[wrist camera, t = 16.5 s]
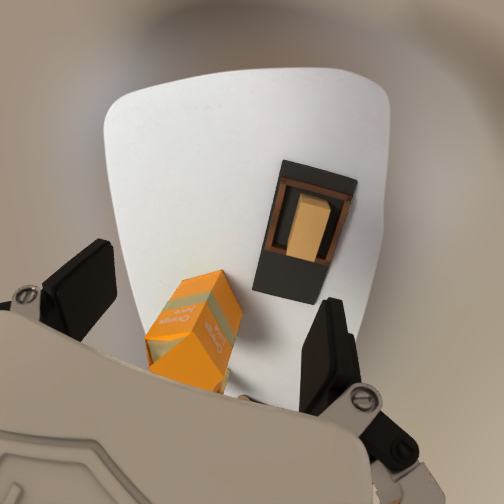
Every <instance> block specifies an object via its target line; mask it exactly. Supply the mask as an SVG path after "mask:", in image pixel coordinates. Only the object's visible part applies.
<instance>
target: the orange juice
mask: <svg viewBox="0 0 504 504" xmlns="http://www.w3.org/2000/svg"><path fill="white" fill-rule="evenodd" d="M242 315H243V312H242V310H241V308H240V306H239V304H238V302H237V300H236V298H235V295H234V293H233V291H232V289H231V287H230V285H229V283H228V281H227V279H226V277H225V275H224V273H223V271H222V270H219V271H215V272H212V273H208V274H205V275H201V276H197V277H194V278H190V279H186V280H183V281H182V282H181V284H180V285H179V287H178V288H177V289H176V291H175V292H174V294H173V295H172V297H171V298H170V300H169V301H168V302H167V304H166V305H165V307H164V308H163V310H162V312H161V313H160V315H159V316H158V318H157V319H156V321H155V322H154V324H153V325H152V327H151V328H150V330H149V332H148V333H147V335H146V336H145V338H144V339H145V342H146V349H147V356H148V362H149V367H148V368H149V370H150V371H151V372H152V373H155V374H158V375H161V376H163V377H166V378H169V379H172V380H175V381H178V382H181V383H185V384H188V385H191V386H194V387H198V388H201V389H204V390H208V391H211V390H212V389H213V388H214V387H215V386H216V385H217V384H218V383H220V382H221V381H222V380H223V379H224V374H225V371H226V368H227V365H228V361H229V358H230V355H231V351H232V348H233V346H234V343H235V339H236V335H237V332H238V328H239V325H240V322H241V318H242Z"/></svg>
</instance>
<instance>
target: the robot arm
mask: <svg viewBox="0 0 504 504" xmlns="http://www.w3.org/2000/svg"><path fill="white" fill-rule="evenodd" d="M42 286H43V289H42V290H41V291H40V289H39V288H38V287H37V286H34V285H26V286H23V287H21V288H19V289H18V290H16V292H15V293H14V294H13V297H12V301H8V302H3V303H0V504H373V484H374V485H375V487H376V489H377V490H378V491H376V494H377V495H378V497H379V500H380V504H445V495H444V493H443V491H442V490H441V488H440V486H439V485H438V483H437V482H436V480H435V479H434V477H433V476H432V474H431V473H430V471H429V470H428V468H427V467H426V465H425V463H424V462H422V463H420V462H419V460H418V457H419V447H418V445H417V443H416V441H415V440H414V439H413V438H412V437H410V436H409V435H408V434H407V433H406V432H405V431H404V430H402V429H401V428H400V427H399V426H398V425H397V424H396V423H394V422H393V421H392V420H391V419H390V418H389V417H388V416H386V415H385V414H384V413H383V412H382V411H381V407H382V402H383V401H382V397H381V395H380V393H379V392H378V391H377V390H376V389H375V388H374V387H373V386H371V385H369V384H365V383H362V382H361V376H360V368H359V362H358V356H357V351H356V344H355V338H354V335H353V334H351V333H348V330H347V324H346V318H345V312H344V307H343V302H342V300H340V299H335V298H331V297H329V298H328V299H327V300H323V301H322V303H321V305H320V307H319V310H318V312H317V314H316V317H315V319H314V321H313V324H312V326H311V328H310V331H309V333H308V335H307V337H306V339H305V342H304V344H303V347H302V355H301V382H300V401H299V412H297V411H292V410H288V409H283V408H278V407H273V406H269V405H264V404H260V403H255V402H251V401H247V400H243V399H238V398H234V397H230V396H226V395H223V394H219V393H215V392H211V391H208V390H204V389H201V388H198V387H194V386H191V385H188V384H185V383H181V382H178V381H175V380H172V379H169V378H166V377H163V376H161V375H158V374H155V373H152V372H149V371H147V370H144V369H141V368H139V367H136V366H134V365H131V364H129V363H126V362H123V361H121V360H119V359H116V358H114V357H112V356H109V355H107V354H105V353H102V352H100V351H98V350H96V349H94V348H91V347H89V346H87V345H85V344H83V343H81V341H82V340H83V338H84V337H85V336H86V335H87V333H88V332H89V331H90V330H91V328H92V327H93V326H94V325H95V323H96V322H97V321H98V320H99V319H100V317H101V316H102V315H103V314H104V313H105V311H106V310H107V309H108V308H109V307H110V305H111V304H112V303H113V302H114V301H115V299H116V297H117V287H116V277H115V266H114V251H113V246H112V245H111V243H110V242H109V241H107V240H103V239H99V238H98V239H97V240H95V241H94V242H93V243H91V244H90V245H89V246H88V247H86V248H85V249H83V250H82V251H81V252H80V253H78V254H77V255H76V256H75V257H73V258H72V259H71V260H70V261H68V262H67V263H66V264H65V265H63V266H62V267H61V268H60V269H59V270H57V271H56V272H55V273H54V274H53V275H51V276H50V277H49V278H48V279H47V280H46V281H44V282H43V283H42Z"/></svg>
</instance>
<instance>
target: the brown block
mask: <svg viewBox="0 0 504 504" xmlns="http://www.w3.org/2000/svg"><path fill="white" fill-rule="evenodd" d="M330 211H331V210H330V207H329V204H328V201H327V200H325V199H322V198H318V197H315V196H311V195H307V194H303V193H301V194H300V198H299V201H298V205H297V209H296V213H295V216H294V220H293V224H292V227H291V231H290V235H289V238H288V244H287V253H286V255H288V256H292V257H296V258H300V259H304V260H308V261H312V262H314V261H315V258H316V255H317V252H318V249H319V246H320V243H321V240H322V237H323V233H324V230H325V227H326V224H327V221H328V218H329V214H330Z"/></svg>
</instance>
